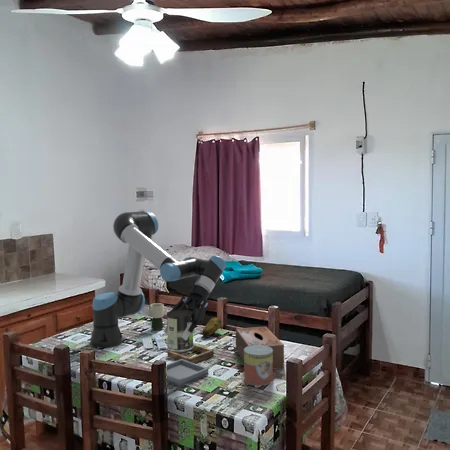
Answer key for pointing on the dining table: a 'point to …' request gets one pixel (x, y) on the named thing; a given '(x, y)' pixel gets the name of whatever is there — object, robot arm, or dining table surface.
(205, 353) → the holder frame
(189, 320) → the coffee can
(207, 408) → the dining table surface
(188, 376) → the tray
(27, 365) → the dining table surface
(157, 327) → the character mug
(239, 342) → the tissue box cover
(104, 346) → the robot arm
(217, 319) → the potato
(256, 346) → the canned food
